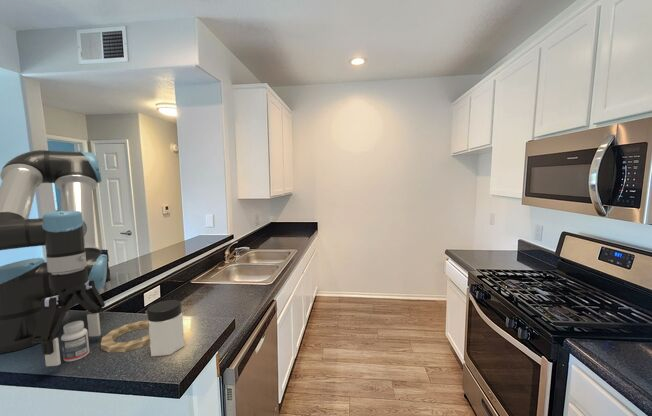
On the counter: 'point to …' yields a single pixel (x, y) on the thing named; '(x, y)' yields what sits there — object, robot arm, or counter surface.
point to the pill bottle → (74, 341)
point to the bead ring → (114, 347)
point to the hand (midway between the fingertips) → (76, 349)
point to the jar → (165, 327)
